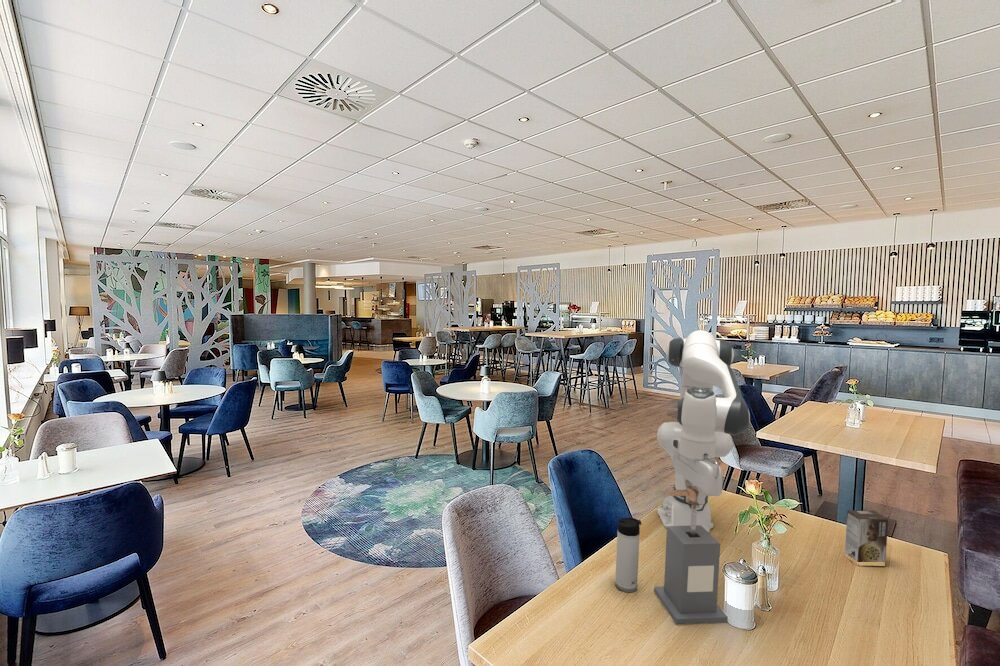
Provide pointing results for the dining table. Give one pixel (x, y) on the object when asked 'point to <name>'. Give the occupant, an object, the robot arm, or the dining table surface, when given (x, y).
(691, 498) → the pump head
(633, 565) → the travel mug
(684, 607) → the grey box with base
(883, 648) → the dining table surface
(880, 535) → the coffee box
